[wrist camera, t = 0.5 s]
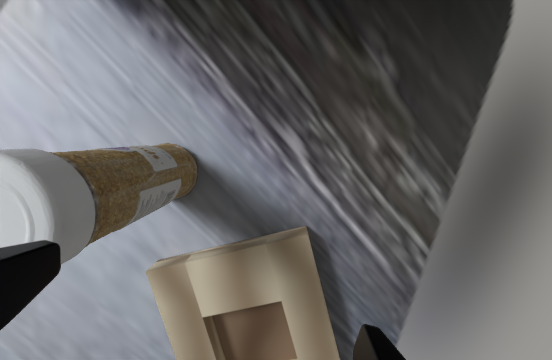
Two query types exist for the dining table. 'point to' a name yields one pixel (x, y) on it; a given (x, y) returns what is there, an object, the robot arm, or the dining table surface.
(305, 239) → the socket block
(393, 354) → the robot arm
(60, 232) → the sprinkles bottle
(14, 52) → the dining table surface
